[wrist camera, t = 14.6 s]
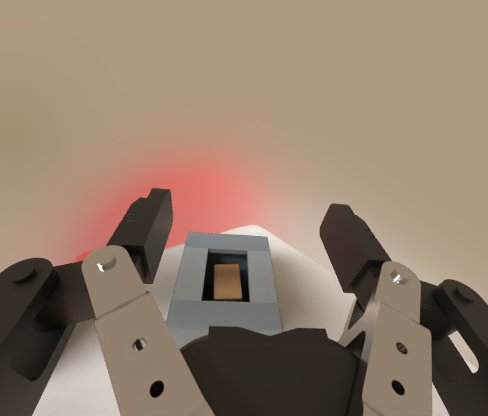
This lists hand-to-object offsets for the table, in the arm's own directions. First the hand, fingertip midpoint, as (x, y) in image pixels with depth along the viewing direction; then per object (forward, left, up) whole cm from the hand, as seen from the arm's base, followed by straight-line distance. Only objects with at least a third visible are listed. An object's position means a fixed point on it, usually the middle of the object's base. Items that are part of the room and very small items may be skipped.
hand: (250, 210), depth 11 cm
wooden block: (+6, +10, -35) cm, 36 cm away
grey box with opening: (+5, +10, -35) cm, 36 cm away
